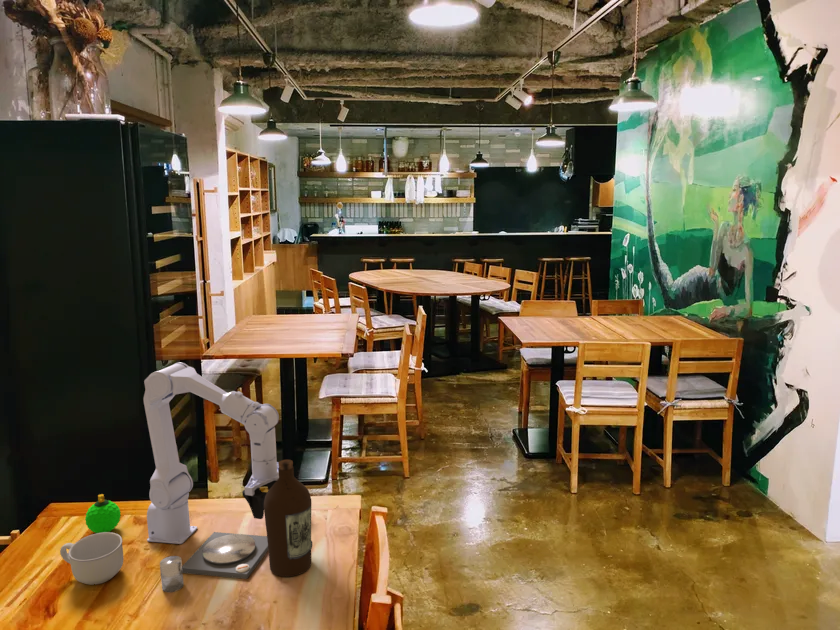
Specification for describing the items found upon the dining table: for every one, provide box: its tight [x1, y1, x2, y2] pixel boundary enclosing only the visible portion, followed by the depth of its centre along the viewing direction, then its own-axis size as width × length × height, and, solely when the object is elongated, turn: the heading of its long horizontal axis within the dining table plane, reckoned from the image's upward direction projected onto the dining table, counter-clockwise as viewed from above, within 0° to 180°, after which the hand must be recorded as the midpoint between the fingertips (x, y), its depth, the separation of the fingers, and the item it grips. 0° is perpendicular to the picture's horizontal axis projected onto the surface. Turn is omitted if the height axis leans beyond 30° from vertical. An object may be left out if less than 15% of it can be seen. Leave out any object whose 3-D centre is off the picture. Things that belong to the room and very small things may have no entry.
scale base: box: [182, 531, 269, 580], centre depth 151 cm, size 16×16×2 cm
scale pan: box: [202, 533, 255, 564], centre depth 151 cm, size 12×12×1 cm
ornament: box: [84, 493, 122, 534], centre depth 163 cm, size 8×8×10 cm
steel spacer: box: [159, 555, 185, 593], centre depth 140 cm, size 4×4×6 cm
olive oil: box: [264, 459, 313, 577], centre depth 145 cm, size 11×11×25 cm
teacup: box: [59, 531, 124, 586], centre depth 144 cm, size 14×11×8 cm
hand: (266, 510), depth 153 cm, fingers open, 7 cm apart
